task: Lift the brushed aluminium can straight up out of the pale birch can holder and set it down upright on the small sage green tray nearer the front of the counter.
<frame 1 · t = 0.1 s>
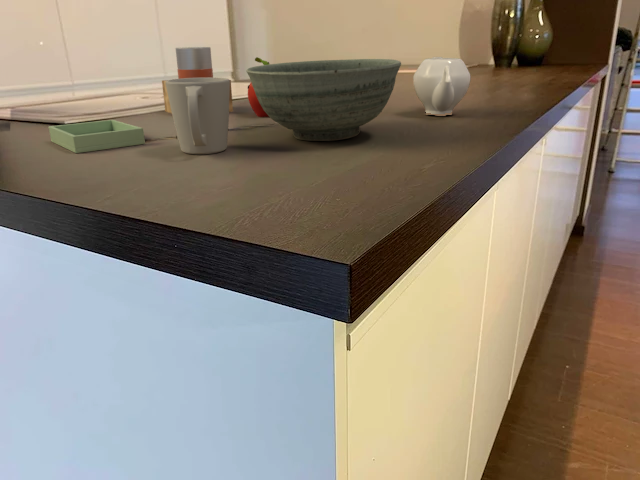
tray: (97, 142, 74), on the countertop
cup: (203, 153, 67), on the countertop
can: (199, 111, 98), point 1 cm above the countertop, touching holder
bowl: (324, 137, 76), on the countertop
holder: (199, 114, 98), on the countertop
red bell pepper: (266, 119, 93), on the countertop
teapot: (439, 115, 94), on the countertop
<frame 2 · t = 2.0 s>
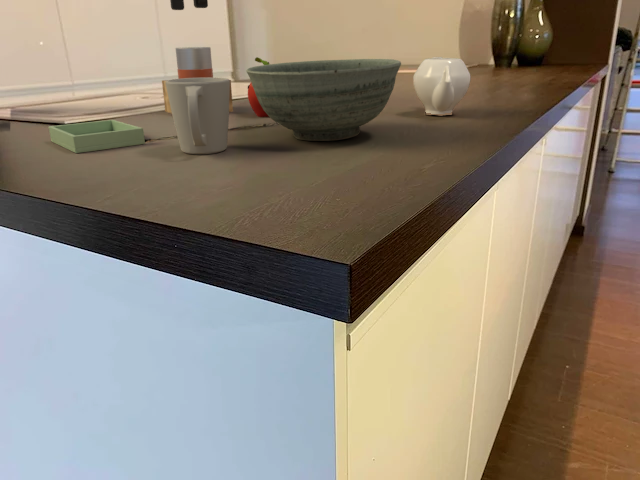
hand: (189, 9, 92), 18 cm above the countertop, tool pointing down, fingers open, 8 cm apart
nothing on the countertop moved.
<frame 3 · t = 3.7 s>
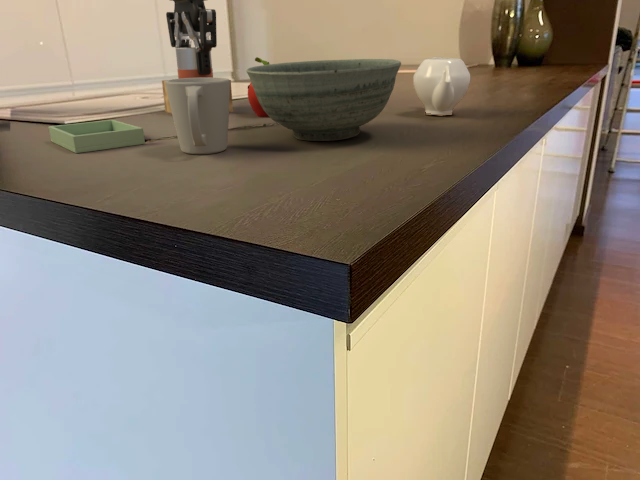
hand: (195, 73, 96), 7 cm above the countertop, tool pointing down, fingers closed on can, 6 cm apart
can: (199, 111, 98), point 1 cm above the countertop, touching gripper, holder
everything else where it was.
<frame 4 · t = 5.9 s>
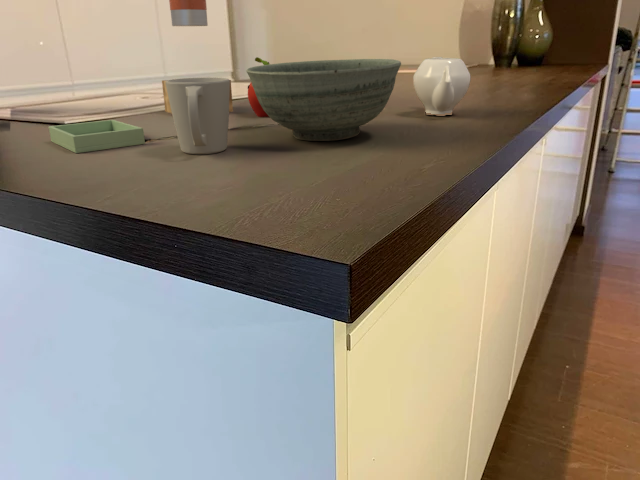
can: (190, 26, 93), point 15 cm above the countertop, touching gripper
everything else where it was.
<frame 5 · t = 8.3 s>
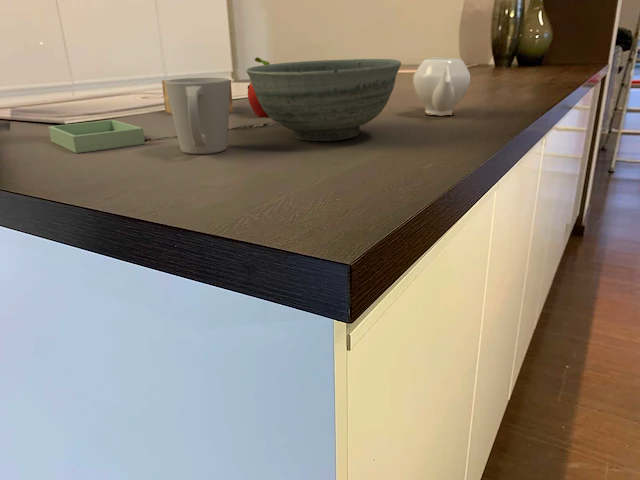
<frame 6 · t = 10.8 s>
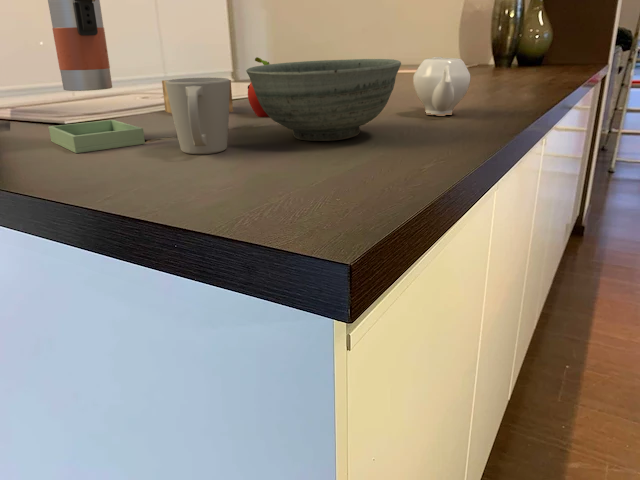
hand: (79, 35, 69), 14 cm above the countertop, tool pointing down, fingers closed on can, 6 cm apart
can: (88, 88, 71), point 7 cm above the countertop, touching gripper
everything else where it was.
when the fingers open (7 cm above the countertop, at t = 12.9 s): can stays where it is, resting on tray.
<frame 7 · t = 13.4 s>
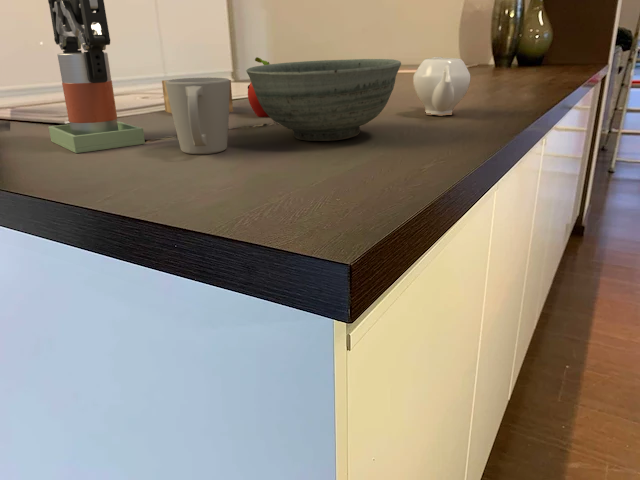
hand: (87, 80, 71), 8 cm above the countertop, tool pointing down, fingers open, 8 cm apart
can: (96, 138, 73), point 1 cm above the countertop, touching tray
everything else where it was.
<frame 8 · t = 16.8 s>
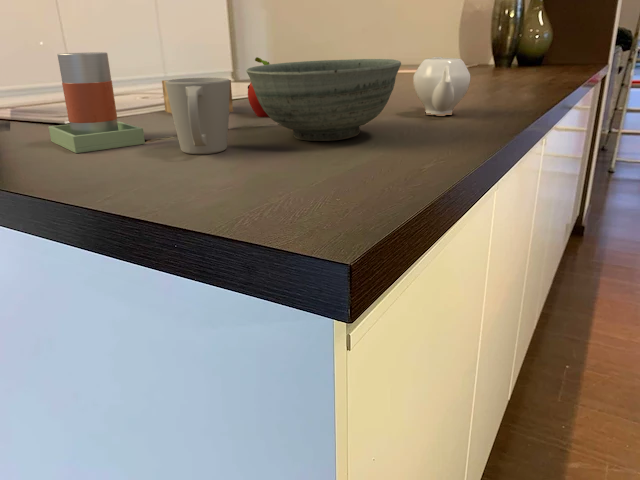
nothing on the countertop moved.
at the end: can 0.1 cm off-centre in the tray, point 0.6 cm above the tray's base; can tilted 0°; the gripper is holding nothing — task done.
